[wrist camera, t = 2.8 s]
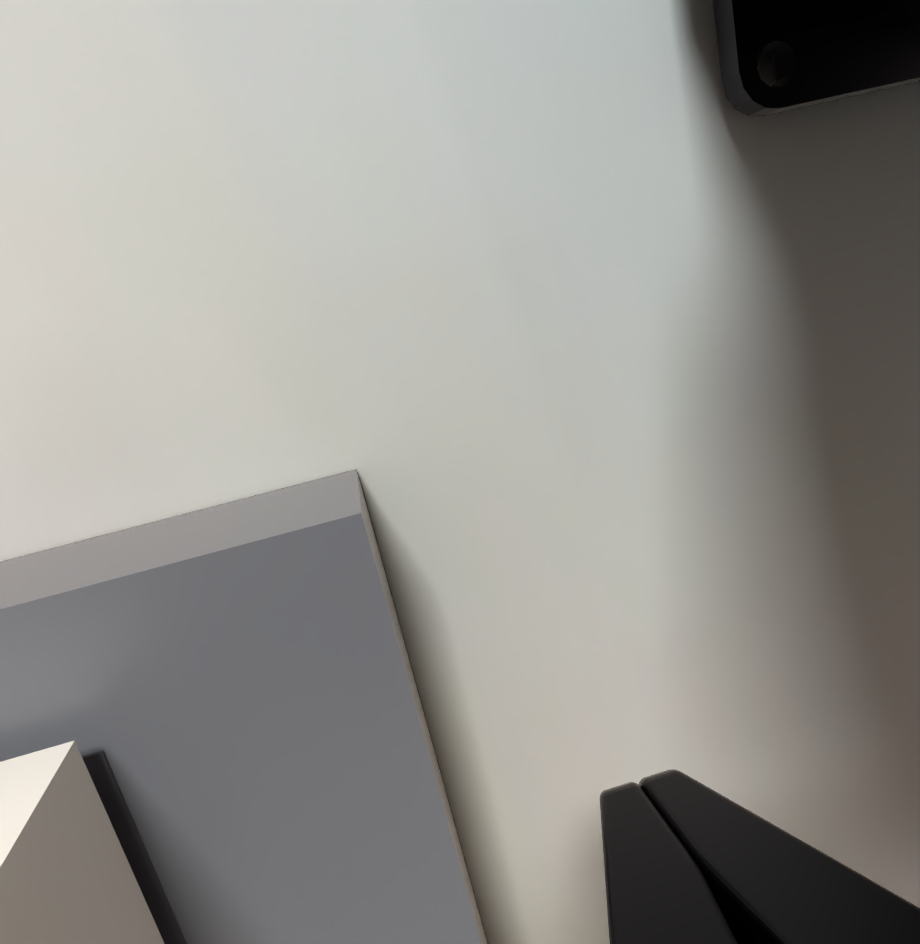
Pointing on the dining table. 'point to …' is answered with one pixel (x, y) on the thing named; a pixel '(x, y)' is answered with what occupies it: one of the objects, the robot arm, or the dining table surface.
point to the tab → (63, 858)
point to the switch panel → (244, 720)
